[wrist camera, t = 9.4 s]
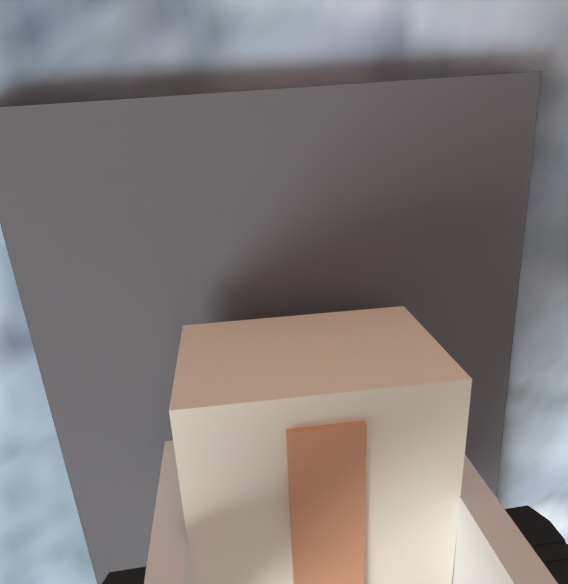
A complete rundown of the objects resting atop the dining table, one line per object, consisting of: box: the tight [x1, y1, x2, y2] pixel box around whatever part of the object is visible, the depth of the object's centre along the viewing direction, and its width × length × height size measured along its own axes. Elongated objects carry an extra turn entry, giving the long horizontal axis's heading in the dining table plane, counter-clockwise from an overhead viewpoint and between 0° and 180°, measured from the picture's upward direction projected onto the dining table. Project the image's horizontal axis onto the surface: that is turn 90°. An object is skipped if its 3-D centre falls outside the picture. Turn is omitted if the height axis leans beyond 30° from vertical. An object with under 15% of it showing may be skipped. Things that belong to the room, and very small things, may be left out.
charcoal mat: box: [0, 71, 542, 584], centre depth 16 cm, size 20×14×1 cm
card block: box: [169, 306, 472, 584], centre depth 13 cm, size 6×9×4 cm, turn 2°
